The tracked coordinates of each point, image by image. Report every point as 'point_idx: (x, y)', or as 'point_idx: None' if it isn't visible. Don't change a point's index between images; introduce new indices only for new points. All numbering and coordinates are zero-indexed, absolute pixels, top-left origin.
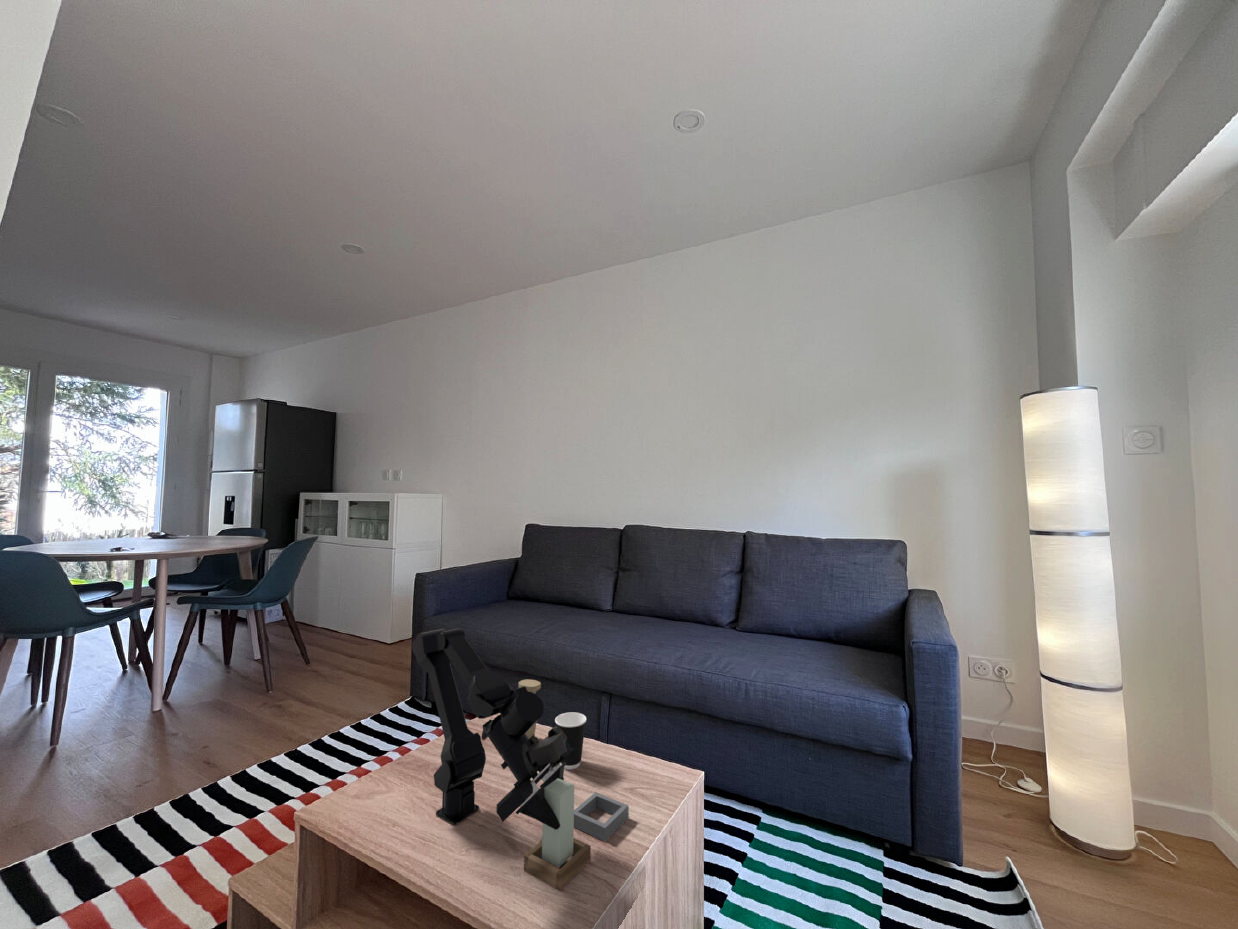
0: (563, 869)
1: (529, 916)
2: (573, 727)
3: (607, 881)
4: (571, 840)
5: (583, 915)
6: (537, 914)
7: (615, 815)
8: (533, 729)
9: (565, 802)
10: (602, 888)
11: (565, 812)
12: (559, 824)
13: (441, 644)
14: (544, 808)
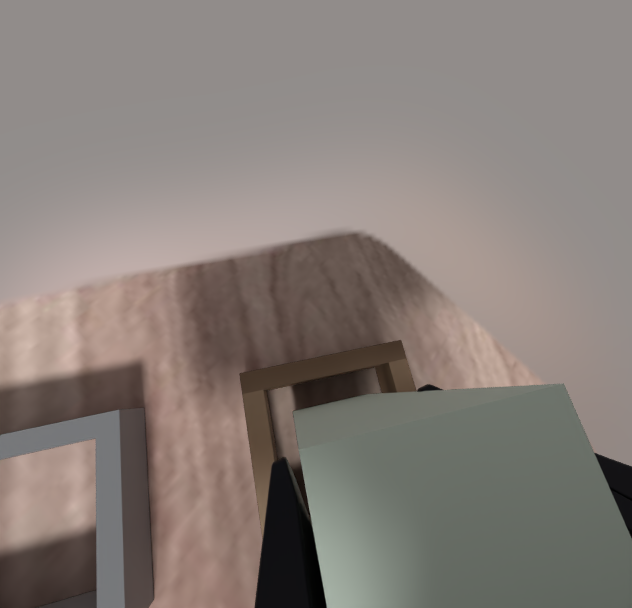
0: (381, 352)
1: (486, 341)
2: None
3: (271, 283)
4: (306, 410)
5: (384, 254)
6: (467, 332)
7: (13, 443)
8: None
9: (421, 403)
10: (297, 276)
11: (390, 402)
12: (429, 388)
13: None
14: (612, 466)
